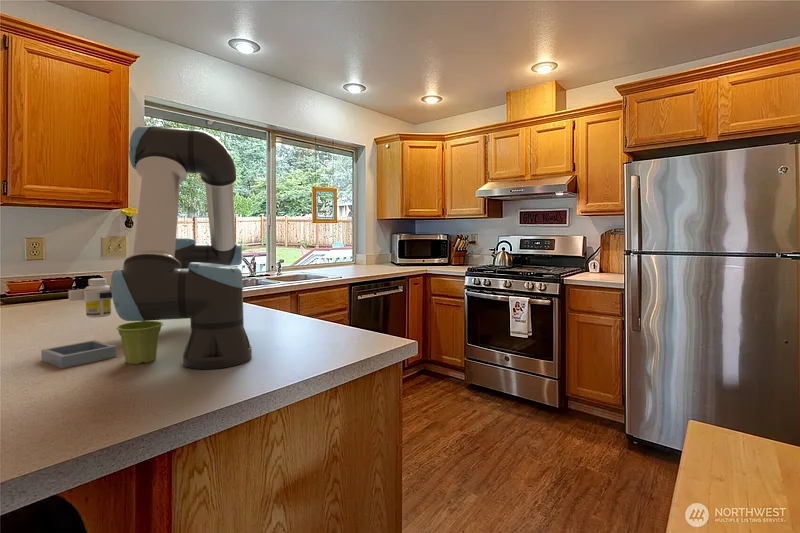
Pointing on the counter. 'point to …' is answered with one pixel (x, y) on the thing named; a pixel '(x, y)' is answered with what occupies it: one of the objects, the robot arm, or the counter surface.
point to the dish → (78, 353)
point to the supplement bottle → (98, 307)
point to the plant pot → (140, 340)
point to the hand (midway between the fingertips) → (77, 296)
